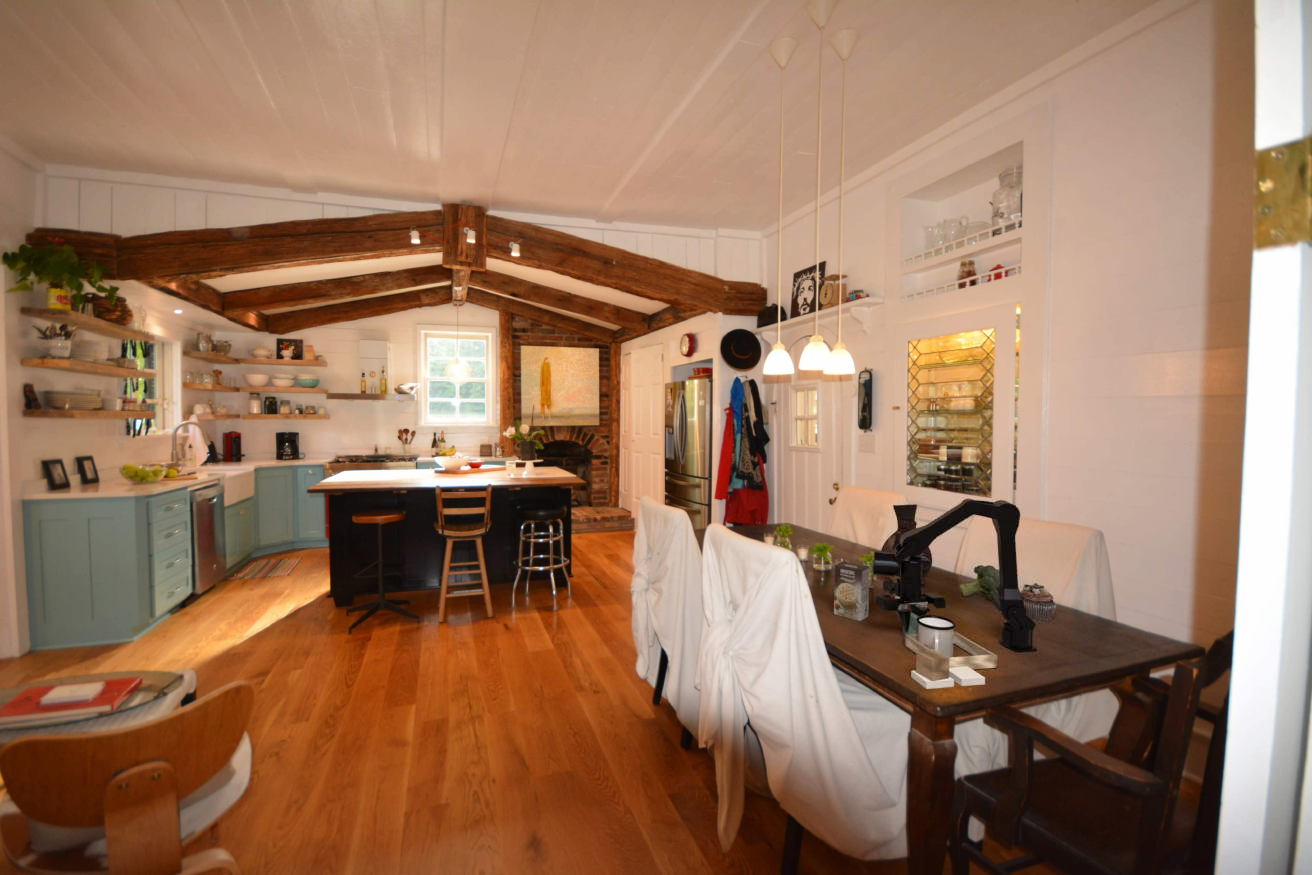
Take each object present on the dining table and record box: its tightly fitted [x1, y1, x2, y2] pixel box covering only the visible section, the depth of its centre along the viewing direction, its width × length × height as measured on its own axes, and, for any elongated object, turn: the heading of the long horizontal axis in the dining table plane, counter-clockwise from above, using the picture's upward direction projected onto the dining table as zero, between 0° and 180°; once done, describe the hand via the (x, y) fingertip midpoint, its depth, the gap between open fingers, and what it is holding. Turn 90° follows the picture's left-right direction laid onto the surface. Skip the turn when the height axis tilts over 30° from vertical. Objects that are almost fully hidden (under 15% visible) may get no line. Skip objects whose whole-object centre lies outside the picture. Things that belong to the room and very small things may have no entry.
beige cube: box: [915, 649, 949, 681], centre depth 138 cm, size 5×5×5 cm
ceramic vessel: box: [880, 503, 933, 583], centre depth 215 cm, size 21×18×30 cm
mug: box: [916, 614, 957, 658], centre depth 152 cm, size 12×9×9 cm
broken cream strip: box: [910, 667, 986, 690], centre depth 138 cm, size 15×6×2 cm, turn 99°
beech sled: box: [902, 611, 998, 670], centre depth 156 cm, size 15×24×6 cm, turn 9°
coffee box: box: [833, 560, 871, 622], centre depth 182 cm, size 9×6×16 cm
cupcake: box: [1020, 583, 1057, 622], centre depth 181 cm, size 10×10×10 cm
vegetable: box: [959, 564, 1000, 602], centre depth 199 cm, size 12×13×15 cm
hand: (909, 631), depth 165 cm, fingers closed on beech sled, 2 cm apart
